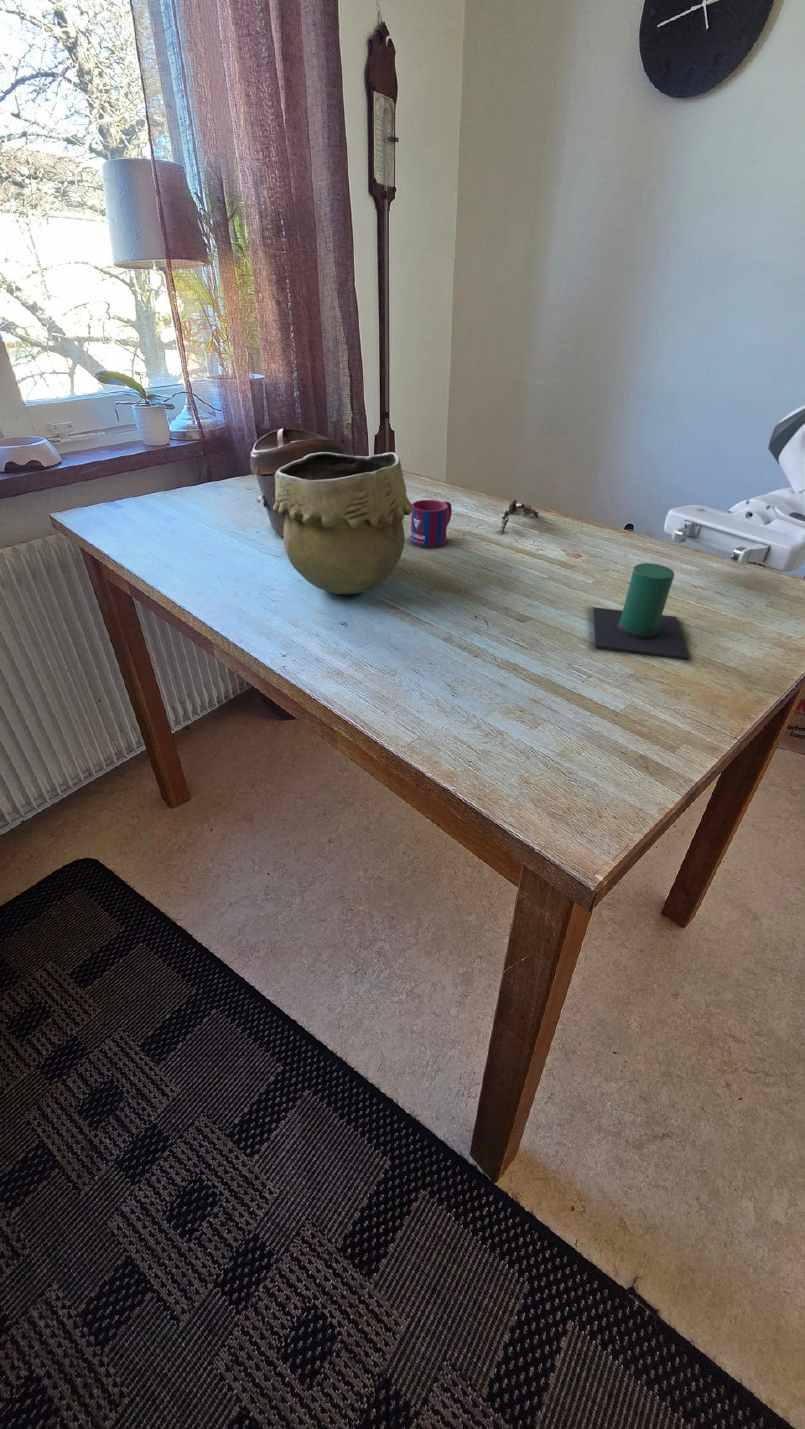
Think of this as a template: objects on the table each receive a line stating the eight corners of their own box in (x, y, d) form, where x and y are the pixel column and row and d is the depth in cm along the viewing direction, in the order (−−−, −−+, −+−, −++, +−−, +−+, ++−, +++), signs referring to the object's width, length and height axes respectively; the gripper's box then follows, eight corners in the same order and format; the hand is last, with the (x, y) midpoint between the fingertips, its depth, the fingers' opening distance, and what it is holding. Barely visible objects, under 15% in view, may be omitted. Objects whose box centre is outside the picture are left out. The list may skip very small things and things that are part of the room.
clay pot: (251, 599, 93) (232, 463, 81) (325, 553, 108) (317, 433, 97) (370, 629, 86) (368, 485, 74) (430, 576, 101) (437, 449, 89)
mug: (403, 541, 114) (403, 504, 110) (439, 529, 120) (441, 494, 116) (428, 550, 110) (430, 513, 106) (464, 538, 116) (467, 502, 112)
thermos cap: (655, 623, 88) (673, 564, 83) (659, 641, 83) (678, 581, 78) (615, 618, 89) (630, 560, 83) (618, 636, 84) (634, 576, 79)
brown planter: (289, 507, 129) (280, 415, 118) (370, 524, 121) (368, 427, 111) (233, 532, 116) (218, 432, 105) (320, 552, 109) (313, 446, 98)
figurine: (518, 531, 129) (497, 534, 116) (509, 515, 129) (487, 516, 116) (542, 515, 126) (523, 516, 113) (533, 499, 126) (513, 497, 113)
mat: (675, 619, 90) (676, 616, 90) (687, 660, 81) (688, 656, 80) (592, 610, 92) (593, 607, 92) (595, 648, 83) (596, 645, 82)
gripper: (699, 490, 98) (648, 505, 91) (832, 525, 85) (785, 546, 78) (687, 528, 101) (638, 545, 94) (813, 568, 88) (766, 591, 81)
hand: (705, 546), depth 86 cm, fingers open, 8 cm apart
